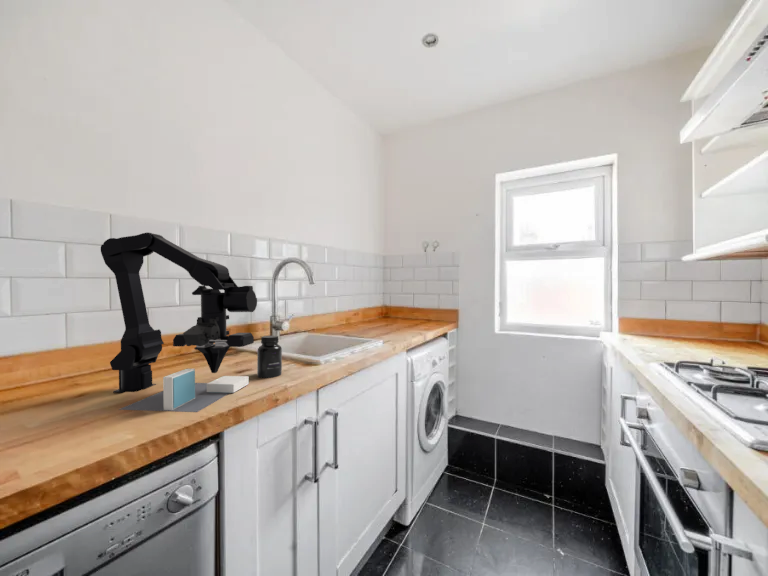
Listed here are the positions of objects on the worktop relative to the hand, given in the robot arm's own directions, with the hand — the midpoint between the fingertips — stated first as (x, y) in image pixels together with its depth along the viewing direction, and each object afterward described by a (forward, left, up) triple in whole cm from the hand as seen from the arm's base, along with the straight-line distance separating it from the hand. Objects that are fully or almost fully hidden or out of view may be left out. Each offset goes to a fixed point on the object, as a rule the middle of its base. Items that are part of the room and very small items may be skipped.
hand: (214, 372), depth 81 cm
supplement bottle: (+9, +13, -5) cm, 16 cm away
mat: (-3, -6, -5) cm, 8 cm away
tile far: (0, 0, -3) cm, 3 cm away
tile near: (-1, -11, -4) cm, 12 cm away
